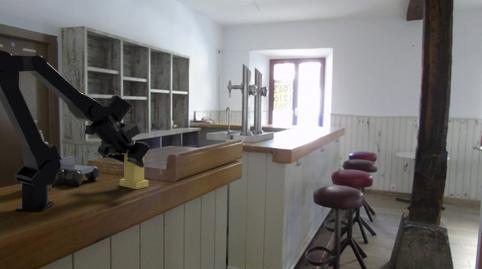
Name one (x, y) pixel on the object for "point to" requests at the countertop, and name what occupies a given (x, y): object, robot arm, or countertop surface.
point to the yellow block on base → (133, 175)
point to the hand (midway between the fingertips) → (137, 165)
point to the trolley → (75, 172)
